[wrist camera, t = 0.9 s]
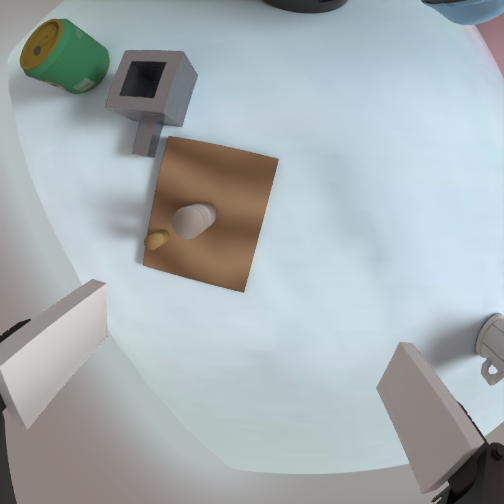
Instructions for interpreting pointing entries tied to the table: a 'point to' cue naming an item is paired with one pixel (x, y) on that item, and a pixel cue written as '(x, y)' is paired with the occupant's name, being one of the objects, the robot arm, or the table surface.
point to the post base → (227, 194)
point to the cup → (492, 348)
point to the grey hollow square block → (138, 89)
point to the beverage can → (64, 57)
